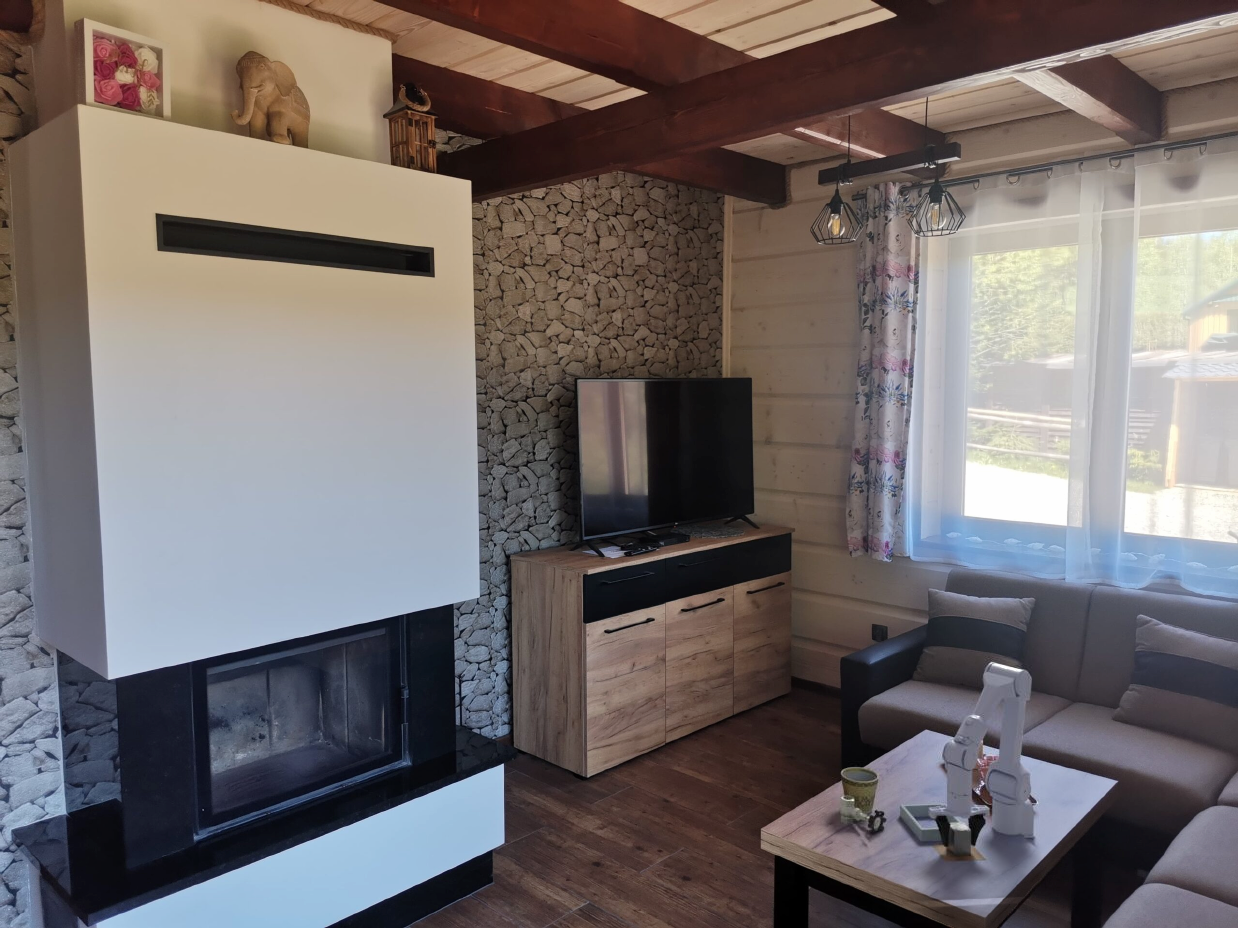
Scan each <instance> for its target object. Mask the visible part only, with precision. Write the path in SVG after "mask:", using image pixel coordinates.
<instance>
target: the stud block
mask: <svg viewBox="0 0 1238 928" xmlns="http://www.w3.org/2000/svg"><path fill="white" fill-rule="evenodd" d="M932 847H933V848H934V849H935V850H936V852H937V853H938V854H939V855H940V857H941V858H942V859H943V860H944V861H945V862H962V861H963V862H964V861H986V860H987V859H986V858H985V857H984V855H983V854H981V852H980V851H978V849H977V848H976V846H972V845H971V856H962V857H954V856H953V855H952V854H951V853H950V852H949V850H948V849H947V847H945V846H944V845H943V844H942V843H941V844H932Z"/></svg>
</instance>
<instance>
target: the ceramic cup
mask: <svg viewBox="0 0 1238 928" xmlns="http://www.w3.org/2000/svg"><path fill="white" fill-rule="evenodd" d="M840 778H841V784H842V789H843V796H844V795H850V796H852V797H854V798H855V804H854V805H855V808H859V809H861V810H862V813H864V814H866V815H869V814H870V813H871V812H873V808H874V803H875V797H876V792H877V789H878V783H879V774H878V773H876V772H875V771H874V770H873V769H871V768H865V767H858V766H855V767H854V766H853V767H847V768H844V769H842V770H841V771H840Z"/></svg>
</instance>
